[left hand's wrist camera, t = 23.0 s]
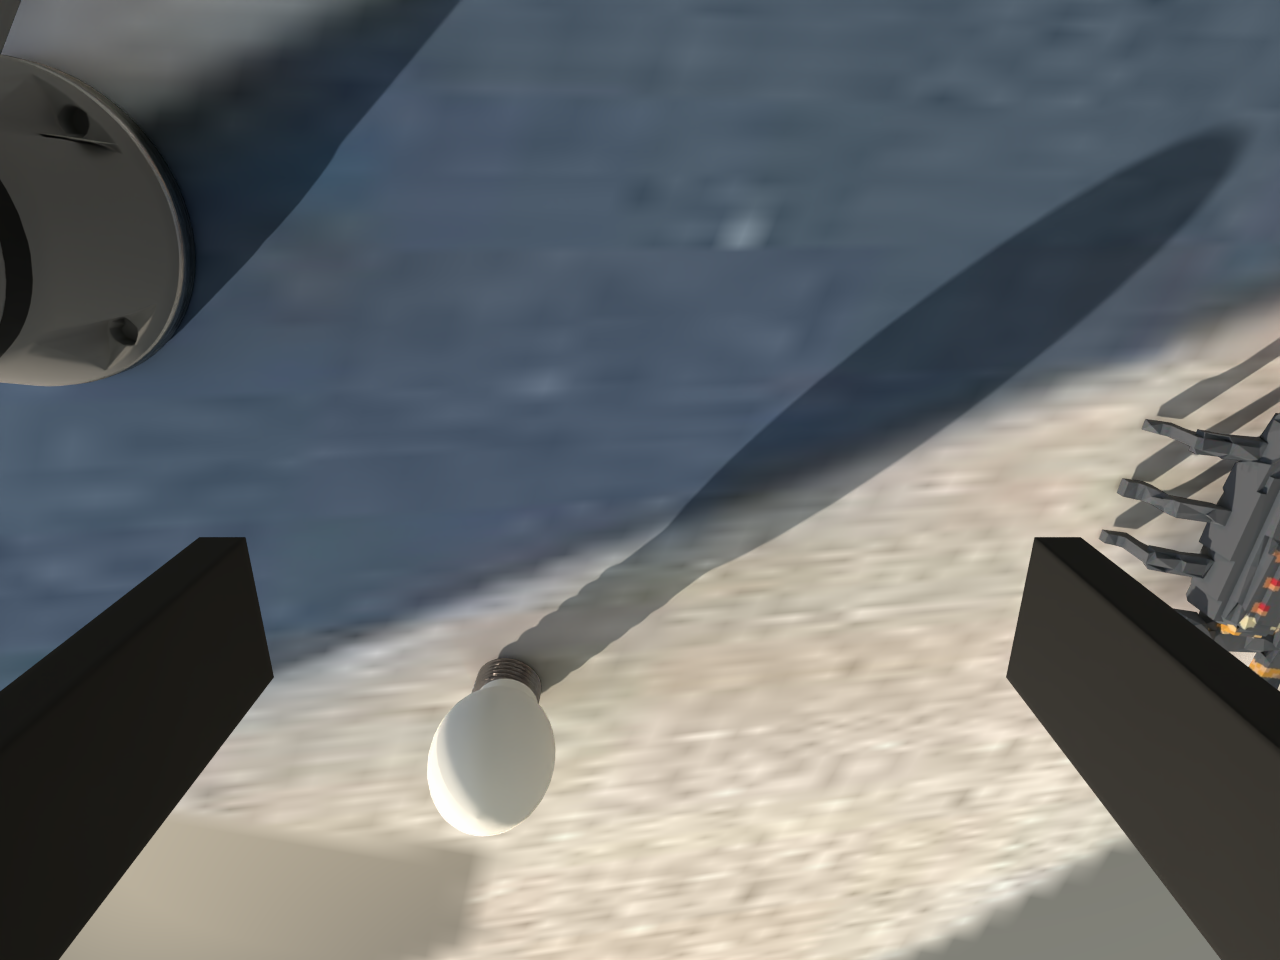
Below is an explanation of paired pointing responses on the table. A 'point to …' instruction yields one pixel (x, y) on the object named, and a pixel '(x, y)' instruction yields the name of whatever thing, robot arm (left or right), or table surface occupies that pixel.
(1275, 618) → the toy
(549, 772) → the light bulb
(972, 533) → the table surface
